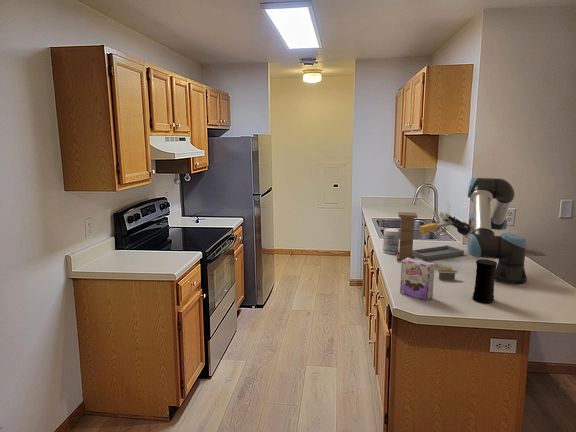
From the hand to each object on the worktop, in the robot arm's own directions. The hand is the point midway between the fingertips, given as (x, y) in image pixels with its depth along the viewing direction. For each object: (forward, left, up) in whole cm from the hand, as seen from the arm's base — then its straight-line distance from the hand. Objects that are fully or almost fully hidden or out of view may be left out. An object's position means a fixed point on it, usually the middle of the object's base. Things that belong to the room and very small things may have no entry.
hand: (442, 214), depth 254 cm
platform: (-47, +3, -26) cm, 54 cm away
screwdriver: (-2, +3, -9) cm, 10 cm away
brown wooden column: (-15, +22, -26) cm, 37 cm away
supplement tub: (0, +30, -26) cm, 39 cm away
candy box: (-73, +21, -26) cm, 80 cm away
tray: (-1, +2, -26) cm, 26 cm away
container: (-73, -8, -26) cm, 78 cm away
